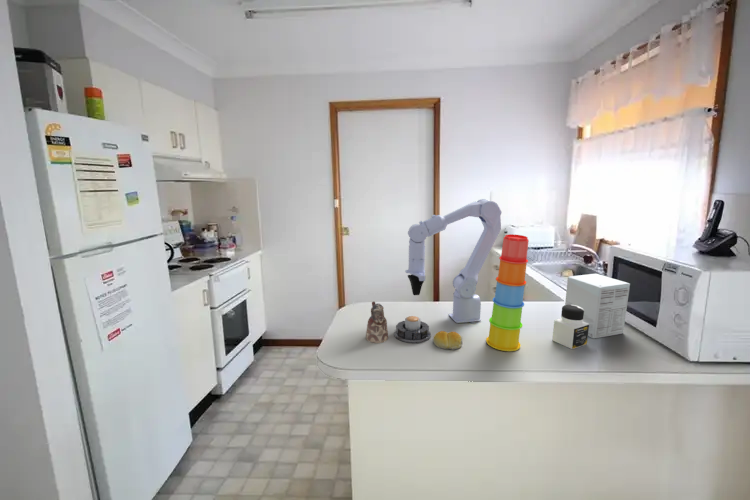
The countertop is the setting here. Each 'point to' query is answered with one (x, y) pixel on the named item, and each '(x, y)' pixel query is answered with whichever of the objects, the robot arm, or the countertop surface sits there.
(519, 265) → the stacking cups
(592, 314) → the supplement box
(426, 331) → the toothed ring bowl
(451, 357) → the countertop surface
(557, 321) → the medicine bottle
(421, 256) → the robot arm
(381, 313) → the figurine
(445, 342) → the bread roll
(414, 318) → the cup
